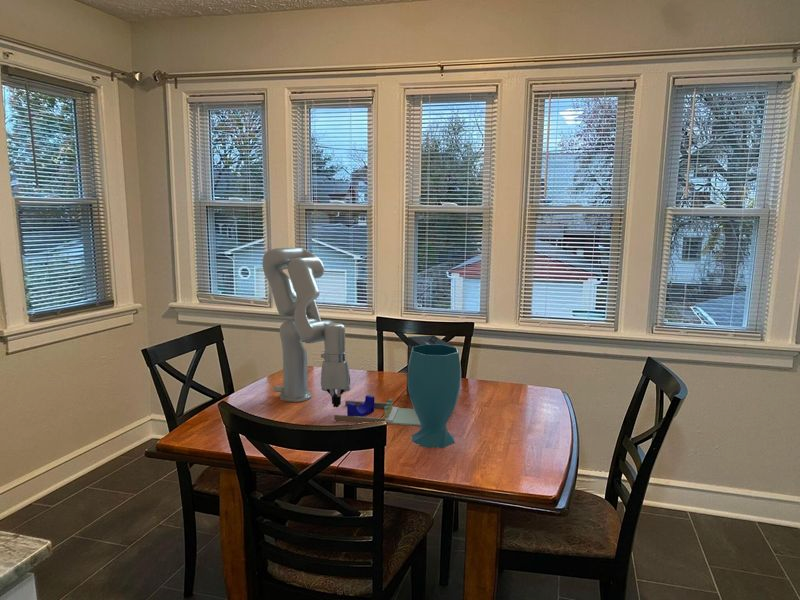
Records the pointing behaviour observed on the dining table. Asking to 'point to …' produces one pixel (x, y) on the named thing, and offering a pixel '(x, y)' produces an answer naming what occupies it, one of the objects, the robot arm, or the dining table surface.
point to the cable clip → (361, 407)
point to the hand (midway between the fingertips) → (336, 406)
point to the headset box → (421, 341)
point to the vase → (434, 391)
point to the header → (390, 414)
